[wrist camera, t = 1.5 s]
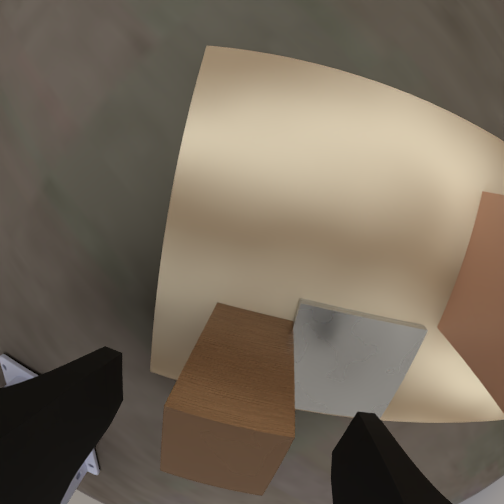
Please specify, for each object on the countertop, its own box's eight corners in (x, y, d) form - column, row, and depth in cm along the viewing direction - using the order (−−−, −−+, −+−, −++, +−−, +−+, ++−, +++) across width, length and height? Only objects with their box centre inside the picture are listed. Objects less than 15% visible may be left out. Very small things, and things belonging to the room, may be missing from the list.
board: (503, 412, 13) (508, 419, 12) (156, 362, 14) (149, 371, 13) (586, 209, 9) (595, 211, 9) (211, 52, 10) (206, 45, 9)
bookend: (377, 412, 13) (404, 512, 7) (202, 379, 13) (160, 484, 7) (423, 324, 11) (491, 418, 6) (222, 278, 12) (166, 373, 6)
